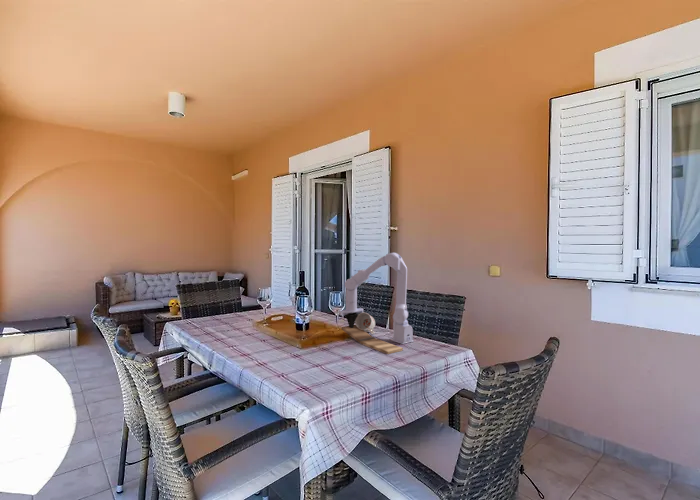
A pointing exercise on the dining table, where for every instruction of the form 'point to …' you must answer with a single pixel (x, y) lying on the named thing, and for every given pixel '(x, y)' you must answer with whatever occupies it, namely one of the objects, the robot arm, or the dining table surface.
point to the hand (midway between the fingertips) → (351, 327)
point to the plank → (356, 333)
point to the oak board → (381, 345)
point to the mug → (365, 322)
